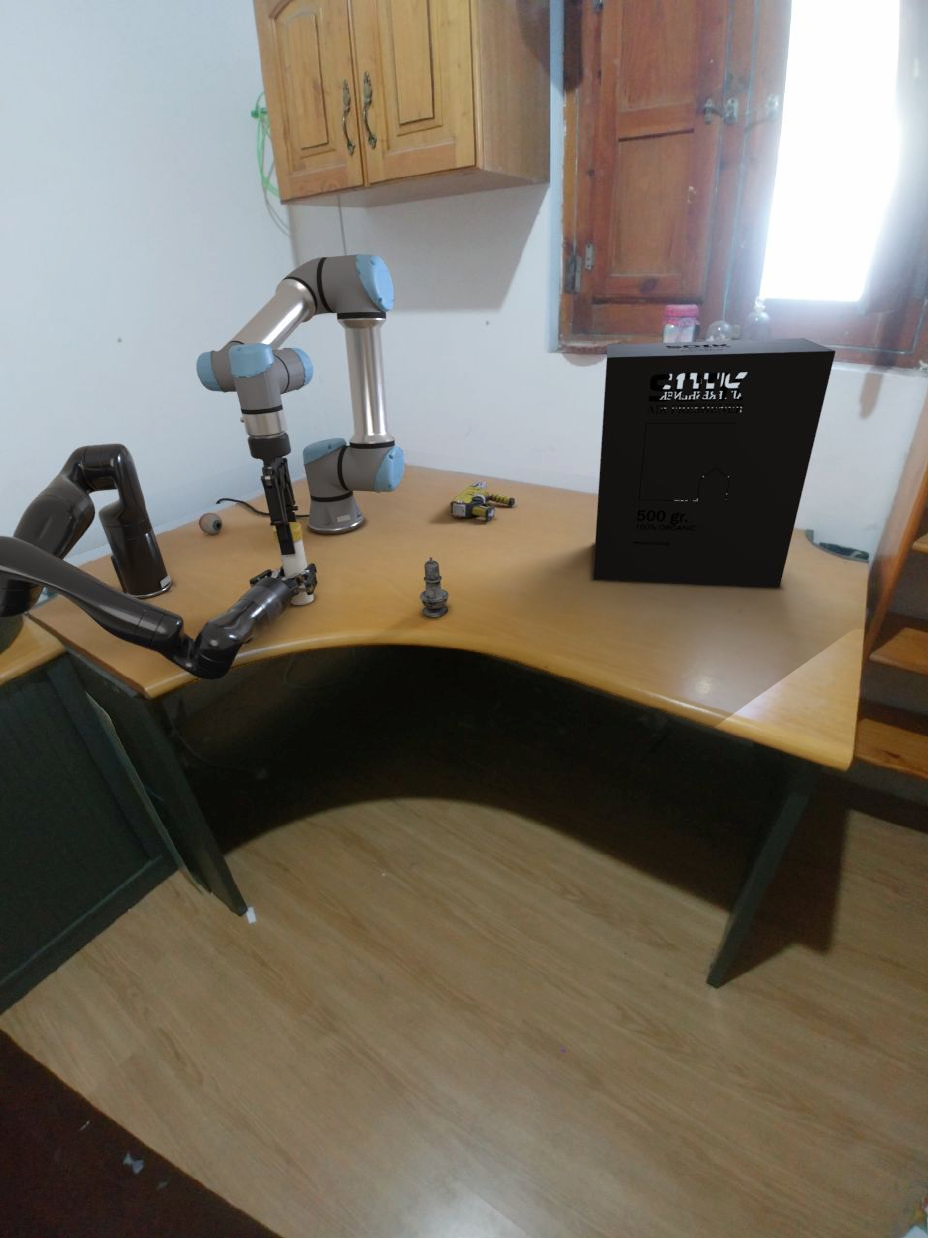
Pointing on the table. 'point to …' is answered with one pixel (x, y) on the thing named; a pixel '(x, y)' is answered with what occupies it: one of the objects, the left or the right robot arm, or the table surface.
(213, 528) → the eyeball
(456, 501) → the toy gun
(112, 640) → the table surface
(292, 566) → the jar
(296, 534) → the lid
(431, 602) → the dark grey tall piece
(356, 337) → the right robot arm
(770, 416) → the cardboard box
